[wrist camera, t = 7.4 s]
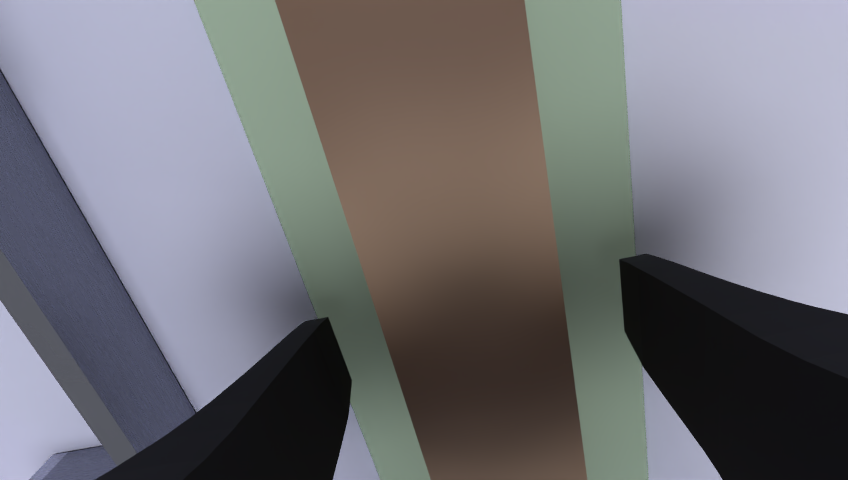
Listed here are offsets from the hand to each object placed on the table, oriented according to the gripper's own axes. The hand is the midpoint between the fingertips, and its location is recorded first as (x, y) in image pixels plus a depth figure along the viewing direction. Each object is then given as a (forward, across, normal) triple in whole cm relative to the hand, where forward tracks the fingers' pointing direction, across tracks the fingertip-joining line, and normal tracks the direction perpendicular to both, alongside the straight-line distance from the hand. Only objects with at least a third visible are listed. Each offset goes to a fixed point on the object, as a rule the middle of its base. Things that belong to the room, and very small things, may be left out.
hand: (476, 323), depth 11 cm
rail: (+2, 0, 0) cm, 2 cm away
